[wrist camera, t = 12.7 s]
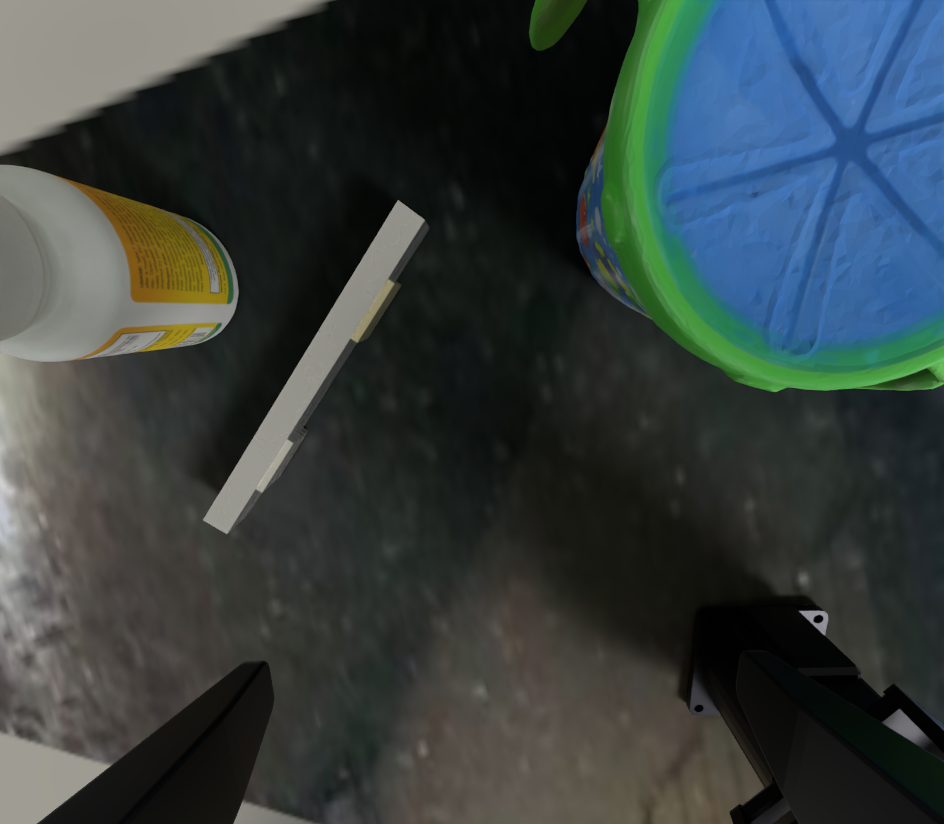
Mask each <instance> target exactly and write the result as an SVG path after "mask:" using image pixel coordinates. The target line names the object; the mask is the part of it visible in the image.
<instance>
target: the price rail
mask: <svg viewBox="0 0 944 824" xmlns="http://www.w3.org/2000/svg"><path fill="white" fill-rule="evenodd" d="M429 229H430V228H429V226H428V224H427V223H426V221H425V220H424V219H423V218H422V217H420V216H419V215H417V214H416V213H415V212H413V211H412V210H411V209H409V208H408V207H407V206H405V205H404V204H403V203H401V202H400V201H399V200H398V201H397V203H396V204H395V206H394V207H393V209H392V211H391V212H390V214H389V216H388V217H387V219H386V221H385V222H384V224H383V226H382V227H381V229H380V230H379V232H378V234H377V235H376V237H375V239H374V240H373V242H372V244H371V245H370V247H369V248H368V250H367V252H366V253H365V255H364V257H363V258H362V260H361V262H360V263H359V265H358V267H357V268H356V270H355V271H354V273H353V275H352V276H351V278H350V280H349V281H348V283H347V285H346V286H345V288H344V290H343V291H342V293H341V294H340V296H339V298H338V299H337V301H336V303H335V304H334V306H333V308H332V309H331V311H330V313H329V314H328V316H327V317H326V319H325V321H324V322H323V324H322V326H321V327H320V329H319V331H318V332H317V334H316V336H315V337H314V339H313V340H312V342H311V344H310V345H309V347H308V349H307V350H306V352H305V354H304V355H303V357H302V358H301V360H300V362H299V363H298V365H297V367H296V368H295V370H294V372H293V373H292V375H291V377H290V378H289V380H288V381H287V383H286V385H285V386H284V388H283V390H282V391H281V393H280V395H279V396H278V398H277V400H276V401H275V403H274V404H273V406H272V408H271V409H270V411H269V413H268V414H267V416H266V418H265V419H264V421H263V423H262V424H261V426H260V427H259V429H258V431H257V432H256V434H255V436H254V437H253V439H252V441H251V442H250V444H249V446H248V447H247V449H246V450H245V452H244V454H243V455H242V457H241V459H240V460H239V462H238V464H237V465H236V467H235V468H234V470H233V472H232V473H231V475H230V477H229V478H228V480H227V482H226V483H225V485H224V487H223V488H222V490H221V491H220V493H219V495H218V496H217V498H216V500H215V501H214V503H213V505H212V506H211V508H210V510H209V511H208V513H207V514H206V516H205V518H204V519H203V520H204V521H205V522H207V523H209V524H210V525H212V526H214V527H216V528H217V529H219V530H221V531H223V532H224V533H226V534H228V533H229V532H230V531H231V530H232V529H233V528H234V527H235V526H236V525H237V524H238V523H239V522H240V521H242V520H243V519H244V518H245V517H246V516H247V515H248V514H249V513H250V511H251V509H252V508H253V506H254V505H255V503H256V502H257V500H258V498H259V497H260V495H261V494H262V492H264V491H265V490H266V489H267V488H268V487H269V486H270V485H271V484H272V483H273V482H274V481H276V480H277V479H278V478H279V477H280V475H281V474H282V472H283V470H284V469H285V467H286V466H287V464H288V463H289V461H290V459H291V458H292V456H293V455H294V453H295V452H296V450H297V449H298V447H299V445H300V444H301V442H302V441H303V439H304V438H305V436H306V434H307V433H308V431H307V430H306V429H304V428H303V427H304V426H305V424H306V423H307V421H308V420H309V418H310V416H311V415H312V413H313V412H314V410H315V409H316V407H317V405H318V404H319V402H320V401H321V399H322V397H323V396H324V394H325V393H326V391H327V390H328V388H329V386H330V385H331V383H332V382H333V380H334V379H335V377H336V375H337V374H338V372H339V371H340V369H341V368H342V366H343V364H344V363H345V361H346V360H347V358H348V356H349V355H350V353H351V352H352V350H353V349H354V347H355V345H356V344H357V343H358V342H361V341H363V340H366V339H368V337H369V336H370V334H371V333H372V331H373V329H374V328H375V326H376V325H377V323H378V322H379V320H380V319H381V317H382V315H383V314H384V312H385V311H386V309H387V308H388V306H389V304H390V303H391V301H392V300H393V298H394V297H395V295H396V293H397V292H398V290H399V289H400V287H401V286H402V285H401V284H399V283H398V282H397V279H398V278H399V276H400V274H401V273H402V271H403V270H404V268H405V267H406V265H407V263H408V262H409V260H410V259H411V257H412V256H413V254H414V252H415V251H416V249H417V248H418V246H419V245H420V243H421V241H422V240H423V238H424V237H425V235H426V234H427V232H428V230H429Z"/></svg>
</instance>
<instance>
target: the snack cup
mask: <svg viewBox="0 0 944 824" xmlns="http://www.w3.org/2000/svg"><path fill="white" fill-rule="evenodd" d="M586 2H587V0H536V1H535V4H534V7H533V11H532V14H531V22H530V29H529V36H530V41H531V45H532V47H533V48H534V49H536V50H537V51H542V50H545V49H547V48H549V47H551V46H553V45H554V44H555V43H556V42H557V41H558V40H559V39H560V38H561V37H562V36H563V35H564V33H565V32H566V31H567V29H568V28H569V27H570V25H571V24H572V23H573V21H574V20H575V19H576V17H577V16H578V15H579V13H580V12H581V10H582V8H583V7H584V5H585V3H586ZM638 3H639V11H638V17H637V24H636V29H635V34H634V36H633V39H632V41H631V44H630V46H629V48H628V51H627V53H626V56H625V59H624V62H623V65H622V68H621V71H620V74H619V77H618V81H617V84H616V87H615V90H614V94H613V98H612V102H611V106H610V111H609V118H608V123H607V125H606V127H605V129H604V132H603V134H602V136H601V138H600V140H599V142H598V144H597V147H596V149H595V152H594V154H593V156H592V158H591V160H590V164H589V166H588V168H587V169H586V172H585V176H584V181H583V183H582V185H581V188H580V191H579V195H578V204H577V212H576V226H577V230H576V239H577V242H578V245H579V249H580V253H581V254H582V256H583V258H584V260H585V262H586V264H587V266H588V267H589V269H590V271H591V275H592V276H593V277H594V278H595V279H596V281H597V282H598V283H599V284H600V285H601V286H602V287H603V288H604V289H605V290H606V291H607V292H608V293H609V294H611V295H612V296H613V297H615V298H616V299H618V300H619V301H621V302H622V303H624V304H625V305H626V306H628V307H630V308H632V309H634V310H635V311H637V312H639V313H641V314H643V315H644V316H646V317H648V318H650V319H652V320H653V321H654V322H655V323H656V325H657V326H658V327H660V328H661V329H662V330H663V331H664V332H665V333H667V334H668V335H669V336H670V337H671V338H672V339H674V340H675V341H676V342H677V343H678V344H680V345H681V346H682V347H683V348H685V349H686V350H688V351H689V352H691V353H693V354H694V355H696V356H697V357H699V358H701V359H703V360H705V361H707V362H709V363H710V364H712V365H715V366H717V367H719V368H721V369H722V370H723V371H724V372H725V373H726V374H727V375H728V376H729V377H730V378H732V379H733V380H734V381H736V382H739V383H742V384H745V385H749V386H752V387H755V388H760V389H764V390H767V391H771V392H777V391H779V390H782V389H784V388H787V387H791V388H799V389H808V390H836V389H850V388H858V389H877V390H918V389H934V388H936V387H938V386H941V385H942V384H944V0H638Z"/></svg>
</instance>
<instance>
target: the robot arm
mask: <svg viewBox="0 0 944 824" xmlns="http://www.w3.org/2000/svg"><path fill="white" fill-rule="evenodd" d="M816 615H817V616H816ZM708 617H710V618H709V619H708V620H705V619H706V618H708ZM827 622H828V615H827V613H826V612H825V611H824V610H823V609H821V608H820V607H819V606H815V605H807V606H759V607H710V608H703V609H701V610H699V611H698V613H697V615H696V621H695V630H694V639H693V647H692V656H691V665H690V674H689V682H688V691H687V700H686V704H687V707H688V709H689V710H690V712H691V713H692V714H693V715H695V716H719V715H721V716H722V718H723V719H724V721H725V723H726V724H727V726H728V728H729V729H730V731H731V733H732V734H733V736H734V738H735V739H736V741H737V743H738V744H739V746H740V748H741V749H742V751H743V753H744V754H745V756H746V758H747V759H748V761H749V763H750V764H751V766H752V768H753V769H754V771H755V773H756V774H757V776H758V778H759V779H760V781H761V783H762V784H763V786H764V789H763V790H762V791H760V792H759V793H758V794H757V795H755V796H754V797H753V798H751V799H750V800H749V801H748V802H746V803H745V804H744V805H740V804H739V805H738V806H736V807H735V808H734V809H732V810H731V811H730V815H731V818H732V821H733V824H944V724H942V723H941V722H940V721H939V720H937V719H936V718H935V717H934V716H933V715H931V714H930V713H929V712H928V711H927V710H925V709H924V708H923V707H922V706H921V705H919V704H918V703H917V702H916V701H914V700H913V699H912V698H911V697H910V696H908V695H907V694H906V693H905V692H904V691H902V690H901V689H900V688H899V687H898V686H896V685H895V684H892V685H891V686H890V687H888V688H887V689H886V690H885V691H883V693H884V694H885V695H883V696H882V697H881V696H880V695H878V694H877V693H876V692H875V691H874V690H873V689H872V688H871V687H870V686H869V685H868V684H867V683H866V682H865V681H864V680H863V679H862V678H861V677H860V676H861V671H860V669H859V668H858V667H857V666H856V665H855V664H854V663H853V662H852V661H851V660H850V659H849V658H848V657H846V656H845V655H844V654H843V653H842V652H841V651H840V650H839V649H838V648H837V647H836V646H835V645H834V644H833V643H832V642H831V641H830V640H829V639H828V638H827V637H825V632H826V627H827ZM273 704H274V692H273V686H272V680H271V674H270V668H269V665H268V663H267V662H265V661H247V662H244V663H242V664H241V665H239V666H238V667H237V668H235V669H234V670H233V671H232V672H230V673H229V674H228V675H227V676H225V677H224V678H223V679H221V680H220V681H219V682H218V683H216V684H215V685H214V686H212V687H211V688H210V689H209V690H207V691H206V692H205V693H203V694H202V695H201V696H200V697H198V698H197V699H196V700H195V701H193V702H192V703H191V704H189V705H188V706H187V707H186V708H184V709H183V710H182V711H180V712H179V713H178V714H177V715H175V716H174V717H173V718H172V719H170V720H169V721H168V722H166V723H165V724H164V725H163V726H161V727H160V728H159V729H157V730H156V731H155V732H154V733H152V734H151V735H150V736H149V737H147V738H146V739H145V740H143V741H142V742H141V743H140V744H138V745H137V746H136V747H134V748H133V749H132V750H131V751H129V752H128V753H127V754H125V755H124V756H123V757H122V758H120V759H119V760H118V761H117V762H115V763H114V764H113V765H111V766H110V767H109V768H108V769H106V770H105V771H104V772H102V773H101V774H100V775H99V776H97V777H96V778H95V779H94V780H92V781H91V782H90V783H88V784H87V785H86V786H85V787H83V788H82V789H81V790H79V791H78V792H77V793H76V794H74V795H73V796H72V797H71V798H69V799H68V800H67V801H65V802H64V803H63V804H62V805H60V806H59V807H58V808H56V809H55V810H54V811H53V812H51V813H50V814H49V815H48V816H46V817H45V818H44V819H43V820H41V821H40V822H39V823H37V824H233V823H234V820H235V818H236V816H237V813H238V811H239V808H240V806H241V803H242V800H243V798H244V795H245V792H246V789H247V786H248V783H249V780H250V777H251V774H252V771H253V767H254V764H255V761H256V758H257V755H258V752H259V749H260V746H261V743H262V740H263V737H264V734H265V731H266V728H267V724H268V721H269V718H270V715H271V712H272V709H273Z"/></svg>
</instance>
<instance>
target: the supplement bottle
mask: <svg viewBox="0 0 944 824" xmlns="http://www.w3.org/2000/svg"><path fill="white" fill-rule="evenodd" d="M238 293H239V291H238V282H237V276H236V273H235V269H234V266H233V263H232V260H231V258H230V256H229V254H228V252H227V250H226V249H225V248H224V246H223V245H222V243H221V242H220V241H219V240H218V239H217V238H216V237H215V236H214V235H213V234H212V233H211V232H210V231H209V230H207V229H206V228H205V227H203V226H202V225H200V224H198V223H197V222H195V221H193V220H191V219H188V218H186V217H183V216H180V215H178V214H175V213H171V212H168V211H165V210H162V209H159V208H156V207H153V206H150V205H147V204H143V203H140V202H137V201H134V200H131V199H128V198H124V197H121V196H118V195H115V194H111V193H108V192H105V191H102V190H99V189H96V188H93V187H90V186H87V185H83V184H80V183H77V182H74V181H71V180H68V179H64V178H61V177H58V176H55V175H52V174H49V173H46V172H43V171H39V170H36V169H31V168H27V167H21V166H14V165H0V352H2V353H5V354H8V355H11V356H14V357H17V358H22V359H27V360H32V361H43V362H56V361H68V360H78V359H87V358H95V357H102V356H111V355H119V354H126V353H133V352H142V351H150V350H158V349H167V348H175V347H182V346H188V345H194V344H198V343H201V342H204V341H207V340H209V339H211V338H212V337H214V336H216V335H217V334H218V333H220V332H221V331H222V330H223V329H224V328H225V326H226V325H227V324H228V323H229V321H230V320H231V318H232V316H233V314H234V312H235V309H236V305H237V300H238Z"/></svg>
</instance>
